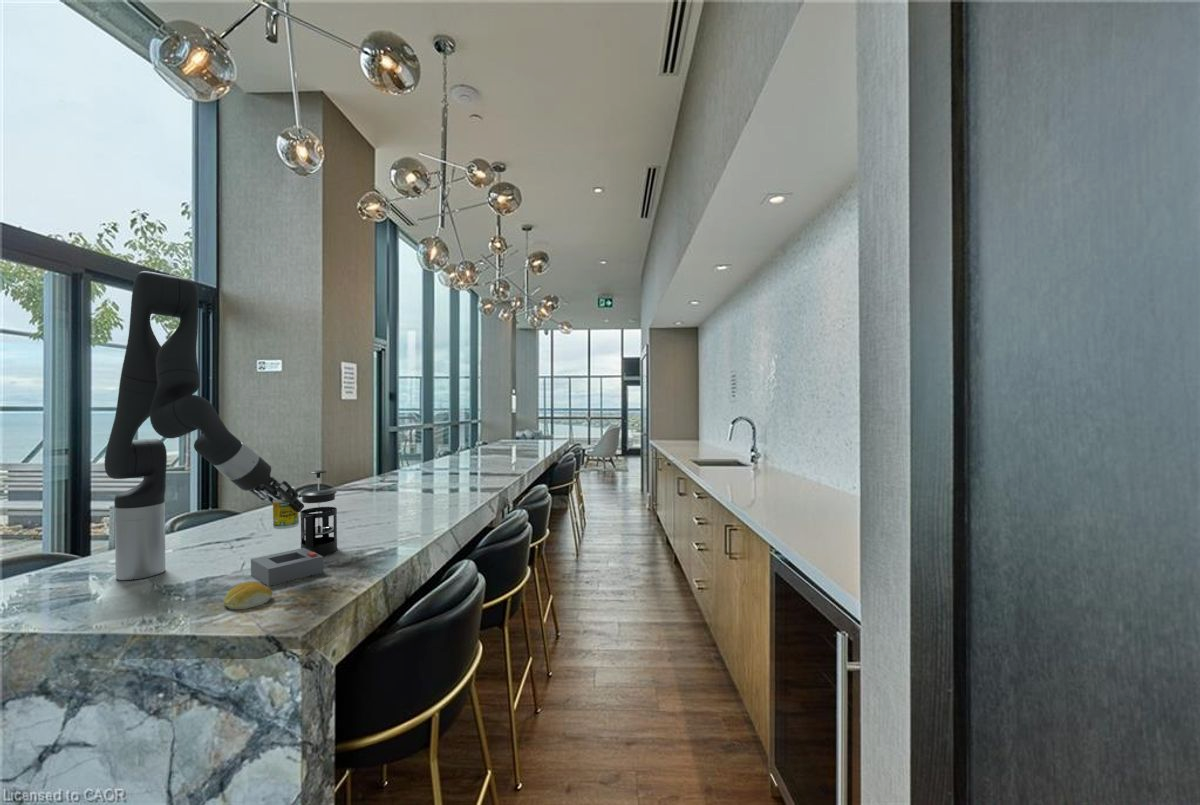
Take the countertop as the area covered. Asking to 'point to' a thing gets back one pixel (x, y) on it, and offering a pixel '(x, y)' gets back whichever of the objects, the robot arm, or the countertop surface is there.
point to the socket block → (286, 566)
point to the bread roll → (247, 596)
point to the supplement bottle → (284, 515)
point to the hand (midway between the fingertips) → (292, 508)
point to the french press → (308, 529)
